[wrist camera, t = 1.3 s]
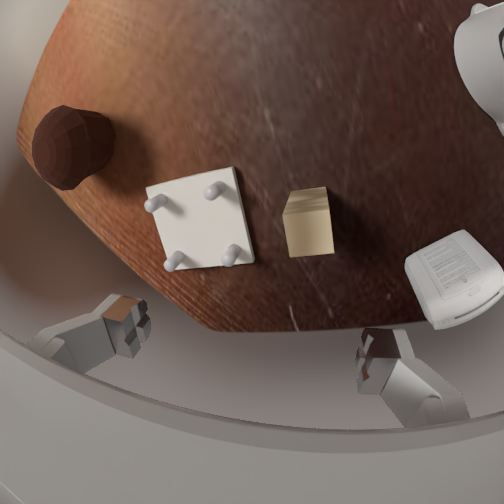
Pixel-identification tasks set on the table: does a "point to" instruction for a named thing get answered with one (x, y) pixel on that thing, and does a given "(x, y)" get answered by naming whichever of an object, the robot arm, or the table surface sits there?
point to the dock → (201, 220)
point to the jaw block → (308, 223)
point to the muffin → (71, 146)
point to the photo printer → (454, 279)
